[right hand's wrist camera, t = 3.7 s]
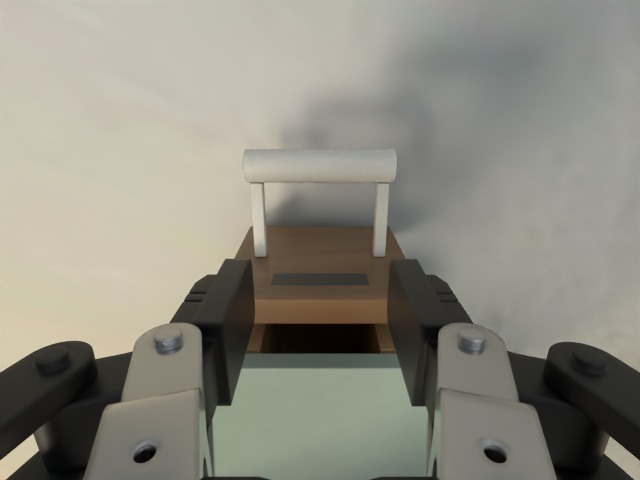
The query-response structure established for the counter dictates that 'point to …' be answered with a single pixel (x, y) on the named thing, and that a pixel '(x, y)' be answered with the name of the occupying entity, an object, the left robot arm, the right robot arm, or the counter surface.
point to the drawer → (320, 259)
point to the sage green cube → (320, 420)
